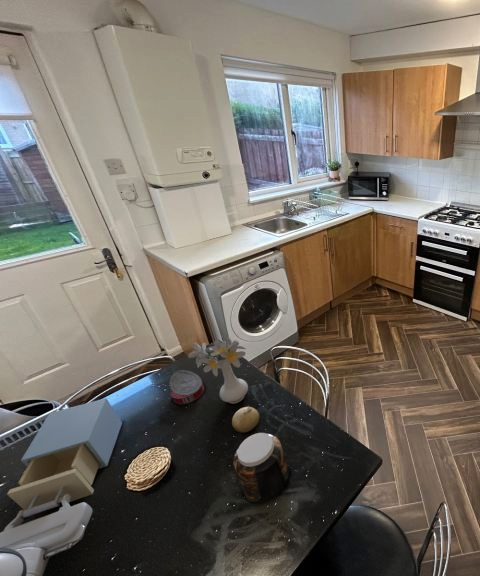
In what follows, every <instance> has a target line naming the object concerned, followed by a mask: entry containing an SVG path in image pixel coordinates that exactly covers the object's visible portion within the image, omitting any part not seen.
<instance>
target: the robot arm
mask: <svg viewBox="0 0 480 576" xmlns="http://www.w3.org/2000/svg"><path fill="white" fill-rule="evenodd" d="M70 498H71V497H70V495H69V494H66V495H63V496H60V497H59V500H58V502H57V503H58V504H60V506H59V509H58V511H55V512H52V513H50V514H47V515H44V516H41V517H39V518H36V519H33V520H30V521H28V522H25V523H23V522H24V521H25V520H28V519H30V516H28V517H23V512H24V511H25V510H27V509H28V508H26V509H23V508H22V509H21V510H20V509H19V510H18V512H17V515H16V517H15V518H13V520H11V521H10V522H9V523H8V524H7V525H6V526H5V527H4V529H3V531H1V532H0V576H43V575H44V573H45V570H46V568H47V566H48V563H49V560H50V558H53V557H54V556H56V555H58V554H60V553H63V552H67V551H70V550H71V549H73V548H74V546H75V545H76V544H78V543H79V542H80V541H81V540H82V539H83V537H84V535H85V530H86V528H87V526H88V524H89V522H90V519H91V517H92V515H93V508H92V507H91V506H90V505H89V504H88V503H87V502H85V501H83V502H80V503H77V504H73V505H72V506H71V505H70V502H69V501H70ZM22 523H23V524H22Z"/></svg>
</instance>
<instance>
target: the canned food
mask: <svg viewBox="0 0 480 576" xmlns="http://www.w3.org/2000/svg"><path fill="white" fill-rule="evenodd" d="M168 384H169V389H170V396H171V398H172V400H173V402H174V403H175V404H176V405H187V404H189V403H193V402H194V401H197V399H199V398H200V397H201V396H202V395H203V393H204V391H205V386H204V384H203V381H202V378H201V376H199V375H198V374H197V373H196V372H193V371H191V370H186V369H180V370H177V371H174V372H173V374H172V375H171V376H170V379H169V382H168Z"/></svg>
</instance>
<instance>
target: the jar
mask: <svg viewBox="0 0 480 576" xmlns="http://www.w3.org/2000/svg"><path fill="white" fill-rule="evenodd" d="M284 452H285V451H284V449H283V446H282V443H281V441H280V439H279V438H278V437H277V436H276V435H273V434H271V433H265V432H258V433H254V434H252V435H250V436H248V437H246V438H245V439H244V440H243V441H242V442H241V443H240V445H239V447H238V448H237V449H236V451H235V453H234V455H233V460H232V463H233V464H232V465H233V469H234V470H233V471H234V473H235V475H236V478H237V480H238V483H239V485H240V488H241V490H242V493H243V495H244V496H245V498H246V499H247V500H248V501H249V502H251V503H255V504H263V503H267V502H269V501H271V500H273V499H275V498H276V497H277V496H279V494H281V492H282V491H284V489H285V487H287V484H288V482H289V476H290V472H289V466H288V463H287V459H286V456H285V453H284Z"/></svg>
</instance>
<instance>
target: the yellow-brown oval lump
mask: <svg viewBox="0 0 480 576" xmlns="http://www.w3.org/2000/svg"><path fill="white" fill-rule="evenodd" d="M259 421H260V413H259V412H258V410H257V409H256V408H254V407H252V406H250V405H249V404H248V405H247V406H244V407H241V408H239V409H238V410H237V411H236V412H235V413H234V414H233V416H232V419H231V425H232V428H233V430H235V431H236V432H238V433H248V432H251V431H252V430H253V429H254V428H255V427H256V426H257V425H258V423H259Z"/></svg>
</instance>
